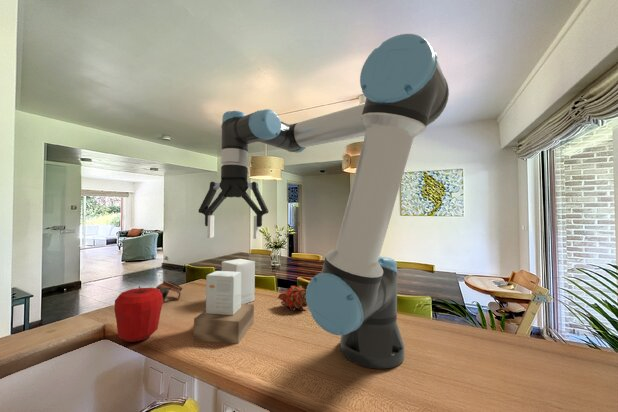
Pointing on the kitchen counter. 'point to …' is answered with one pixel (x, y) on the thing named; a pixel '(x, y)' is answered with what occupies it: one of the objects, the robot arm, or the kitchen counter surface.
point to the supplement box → (243, 276)
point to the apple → (138, 313)
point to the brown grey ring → (169, 286)
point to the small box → (223, 292)
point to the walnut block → (224, 325)
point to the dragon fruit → (294, 298)
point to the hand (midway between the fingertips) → (233, 238)
